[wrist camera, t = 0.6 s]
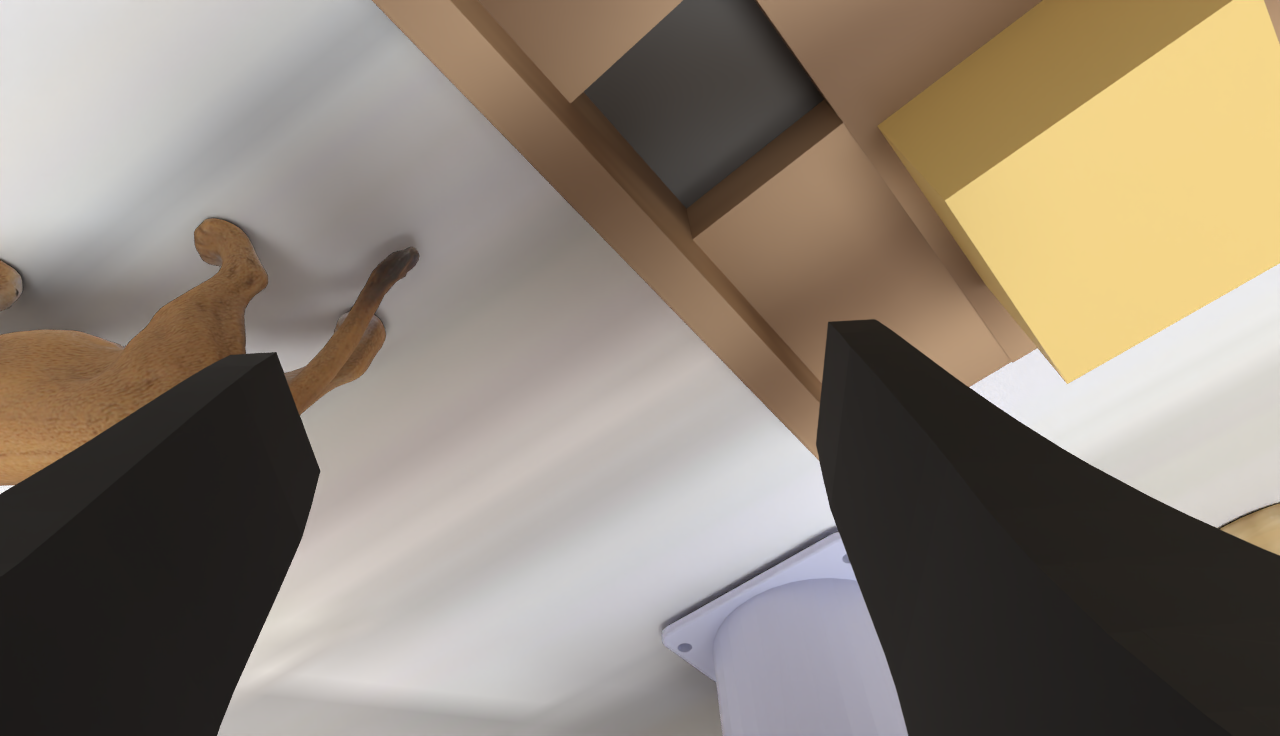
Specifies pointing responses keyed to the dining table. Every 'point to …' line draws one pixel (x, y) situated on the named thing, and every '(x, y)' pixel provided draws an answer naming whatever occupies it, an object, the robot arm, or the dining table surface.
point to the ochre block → (1106, 165)
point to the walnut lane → (744, 162)
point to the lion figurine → (161, 354)
